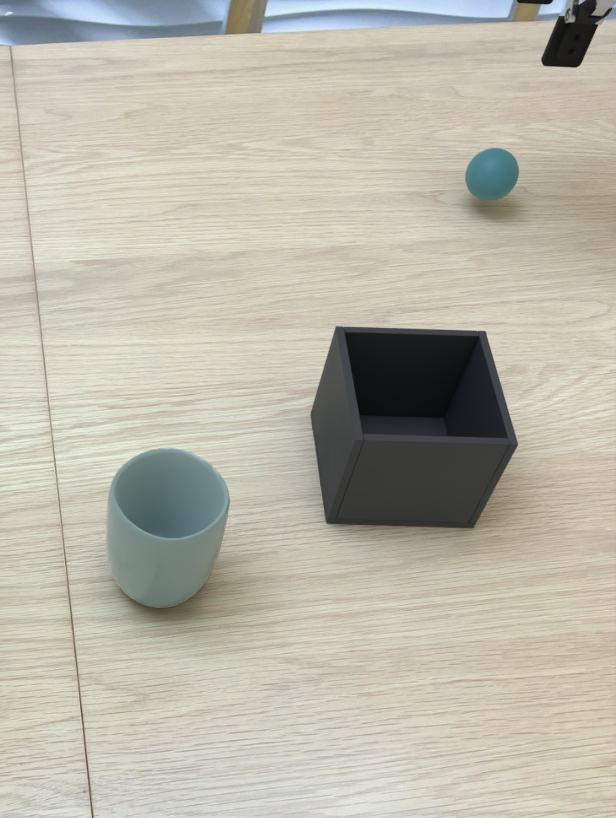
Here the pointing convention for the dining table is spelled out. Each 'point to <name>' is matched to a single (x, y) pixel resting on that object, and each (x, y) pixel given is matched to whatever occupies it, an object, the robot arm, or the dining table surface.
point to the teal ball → (492, 174)
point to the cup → (165, 525)
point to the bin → (410, 427)
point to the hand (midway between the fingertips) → (545, 32)
